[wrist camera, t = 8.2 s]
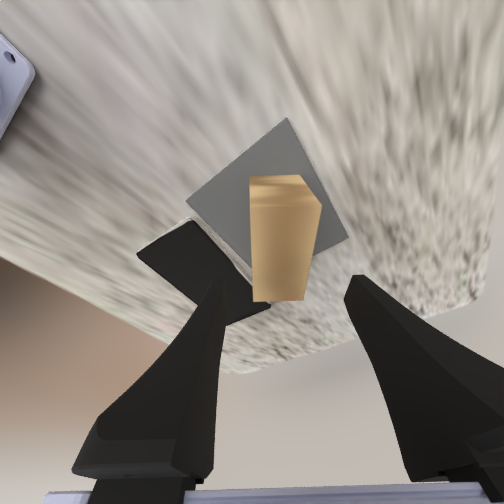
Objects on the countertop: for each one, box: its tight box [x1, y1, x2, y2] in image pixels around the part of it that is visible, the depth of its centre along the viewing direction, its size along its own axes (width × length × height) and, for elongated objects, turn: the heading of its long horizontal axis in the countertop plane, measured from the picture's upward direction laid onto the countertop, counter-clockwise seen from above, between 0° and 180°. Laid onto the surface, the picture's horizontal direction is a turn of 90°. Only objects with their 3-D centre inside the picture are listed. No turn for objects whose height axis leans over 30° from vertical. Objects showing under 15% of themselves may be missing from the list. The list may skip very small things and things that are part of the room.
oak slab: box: [249, 175, 322, 302], centre depth 16 cm, size 4×8×6 cm, turn 2°
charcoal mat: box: [186, 118, 348, 268], centre depth 18 cm, size 12×10×1 cm
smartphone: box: [136, 215, 271, 326], centre depth 23 cm, size 8×1×15 cm
